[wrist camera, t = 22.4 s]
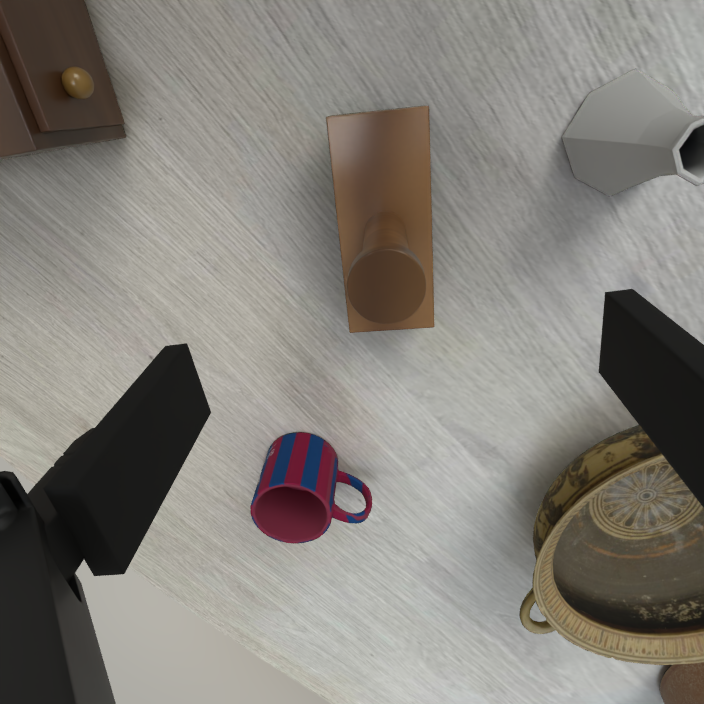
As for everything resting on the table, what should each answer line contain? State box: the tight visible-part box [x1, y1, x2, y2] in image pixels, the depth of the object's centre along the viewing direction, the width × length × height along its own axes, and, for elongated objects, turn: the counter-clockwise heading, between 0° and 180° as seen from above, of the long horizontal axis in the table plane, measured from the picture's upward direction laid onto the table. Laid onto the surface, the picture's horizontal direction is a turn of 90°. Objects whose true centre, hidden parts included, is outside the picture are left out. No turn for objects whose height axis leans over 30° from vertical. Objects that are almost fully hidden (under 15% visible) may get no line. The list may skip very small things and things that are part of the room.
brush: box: [326, 106, 434, 333], centre depth 29 cm, size 6×14×15 cm, turn 6°
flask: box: [562, 69, 704, 196], centre depth 28 cm, size 7×7×10 cm
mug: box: [251, 432, 372, 543], centre depth 44 cm, size 7×10×7 cm
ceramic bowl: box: [520, 425, 704, 665], centre depth 41 cm, size 30×24×10 cm
